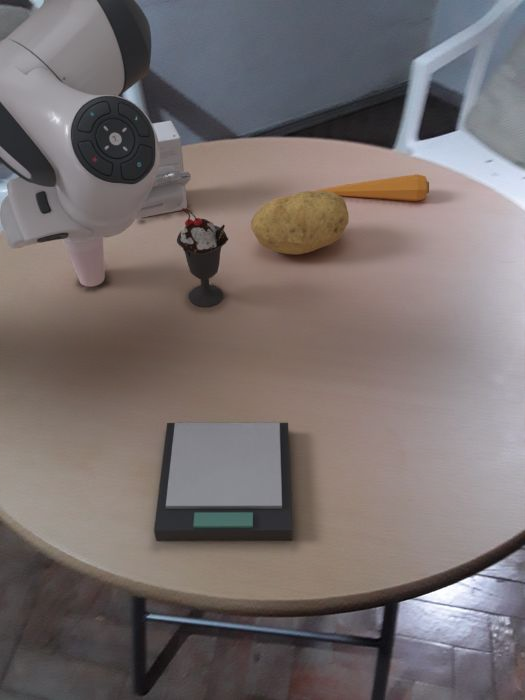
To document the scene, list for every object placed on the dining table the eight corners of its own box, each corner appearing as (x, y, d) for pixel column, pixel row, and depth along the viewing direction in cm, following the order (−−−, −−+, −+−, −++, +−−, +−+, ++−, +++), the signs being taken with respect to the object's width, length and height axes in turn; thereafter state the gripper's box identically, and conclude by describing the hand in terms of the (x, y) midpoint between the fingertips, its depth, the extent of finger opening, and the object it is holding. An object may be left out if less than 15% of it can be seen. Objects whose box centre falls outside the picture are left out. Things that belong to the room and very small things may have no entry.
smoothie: (63, 290, 98) (42, 207, 89) (78, 263, 103) (59, 181, 93) (106, 294, 98) (89, 211, 88) (119, 267, 102) (104, 185, 93)
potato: (344, 270, 102) (350, 216, 96) (249, 262, 103) (248, 209, 97) (346, 231, 109) (352, 179, 103) (257, 225, 110) (257, 172, 104)
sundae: (172, 296, 98) (162, 206, 87) (207, 275, 101) (201, 186, 90) (203, 318, 94) (196, 227, 84) (238, 295, 98) (236, 206, 87)
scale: (155, 540, 70) (153, 527, 68) (168, 433, 80) (166, 419, 78) (291, 540, 70) (292, 527, 68) (287, 433, 80) (288, 419, 78)
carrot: (426, 198, 118) (427, 172, 116) (429, 203, 113) (430, 175, 112) (310, 202, 120) (310, 176, 118) (309, 207, 116) (308, 180, 114)
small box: (178, 190, 118) (171, 119, 109) (188, 210, 114) (181, 137, 104) (132, 198, 116) (121, 127, 107) (140, 218, 112) (129, 145, 102)
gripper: (185, 142, 73) (163, 179, 86) (-10, 184, 67) (-2, 218, 80) (203, 198, 73) (178, 227, 86) (10, 246, 67) (15, 269, 80)
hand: (91, 223), depth 83 cm, fingers open, 8 cm apart
